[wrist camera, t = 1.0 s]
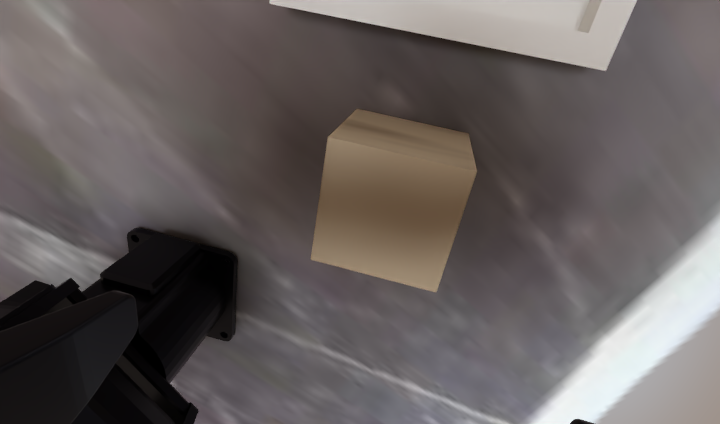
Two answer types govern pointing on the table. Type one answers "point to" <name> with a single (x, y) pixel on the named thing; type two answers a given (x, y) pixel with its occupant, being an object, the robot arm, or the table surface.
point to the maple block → (392, 198)
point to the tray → (498, 23)
